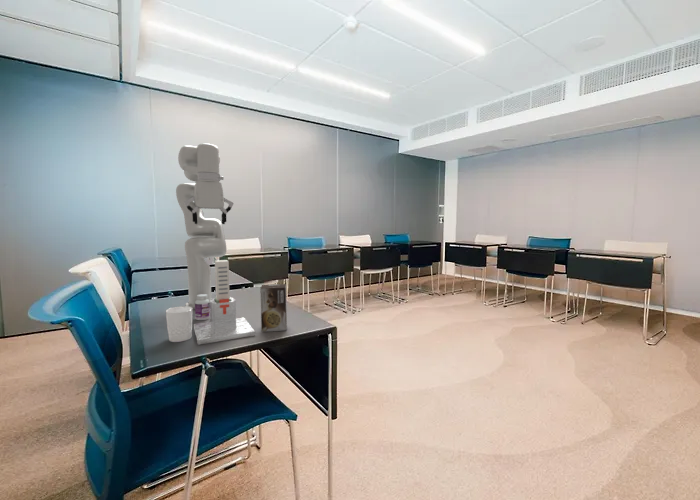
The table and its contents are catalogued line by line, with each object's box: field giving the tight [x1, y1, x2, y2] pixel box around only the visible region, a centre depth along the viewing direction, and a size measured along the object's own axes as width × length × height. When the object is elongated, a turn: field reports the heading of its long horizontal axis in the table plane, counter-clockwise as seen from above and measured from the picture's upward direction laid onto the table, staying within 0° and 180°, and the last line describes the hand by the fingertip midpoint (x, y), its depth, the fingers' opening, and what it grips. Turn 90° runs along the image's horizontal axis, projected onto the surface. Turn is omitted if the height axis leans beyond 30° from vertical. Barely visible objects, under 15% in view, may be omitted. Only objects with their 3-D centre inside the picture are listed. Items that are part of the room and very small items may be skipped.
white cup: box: [165, 305, 194, 343], centre depth 107 cm, size 8×8×10 cm
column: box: [214, 259, 231, 303], centre depth 113 cm, size 4×4×18 cm
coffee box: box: [259, 283, 288, 333], centre depth 118 cm, size 9×6×16 cm
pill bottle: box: [194, 294, 210, 321], centre depth 129 cm, size 5×5×10 cm
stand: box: [193, 296, 256, 346], centre depth 114 cm, size 18×18×12 cm
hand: (209, 224), depth 122 cm, fingers open, 9 cm apart
